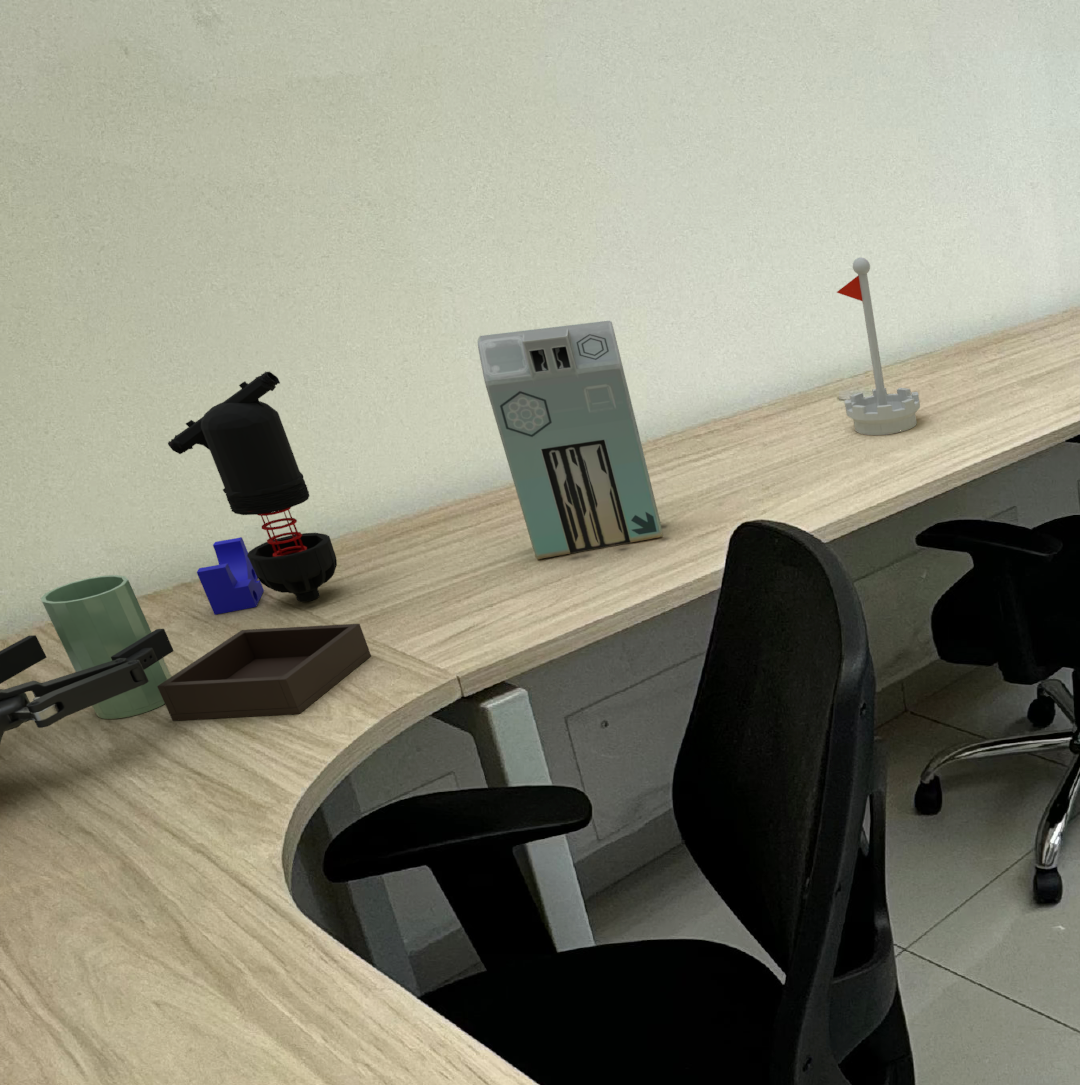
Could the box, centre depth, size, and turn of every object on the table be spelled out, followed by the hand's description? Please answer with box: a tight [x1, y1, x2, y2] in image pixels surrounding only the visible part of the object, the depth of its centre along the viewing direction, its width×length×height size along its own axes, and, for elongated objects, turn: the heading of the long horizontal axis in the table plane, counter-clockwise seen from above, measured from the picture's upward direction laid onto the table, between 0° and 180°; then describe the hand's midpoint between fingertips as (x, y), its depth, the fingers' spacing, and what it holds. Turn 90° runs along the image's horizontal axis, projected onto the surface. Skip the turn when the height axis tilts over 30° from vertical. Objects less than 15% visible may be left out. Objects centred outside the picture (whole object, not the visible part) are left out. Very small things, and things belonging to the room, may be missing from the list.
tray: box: [157, 623, 372, 722], centre depth 139 cm, size 14×14×4 cm
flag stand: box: [836, 256, 921, 436], centre depth 218 cm, size 13×13×30 cm
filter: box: [167, 371, 338, 603], centre depth 156 cm, size 14×9×30 cm
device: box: [477, 320, 664, 560], centre depth 171 cm, size 16×8×30 cm, turn 115°
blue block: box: [196, 536, 265, 616], centre depth 164 cm, size 12×4×6 cm, turn 27°
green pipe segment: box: [39, 574, 172, 720], centre depth 135 cm, size 7×7×14 cm
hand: (102, 643), depth 134 cm, fingers open, 13 cm apart
